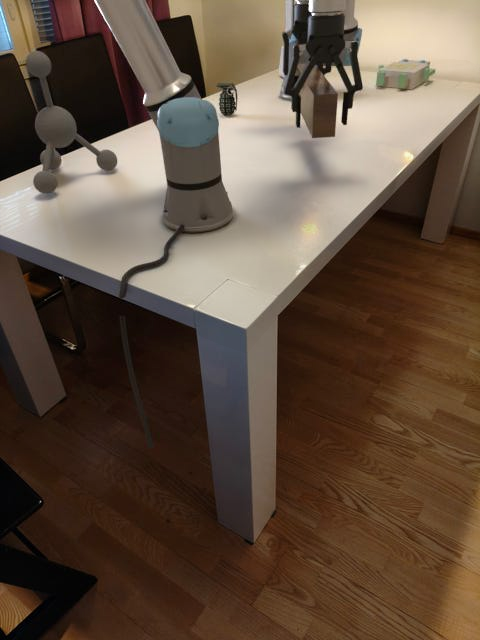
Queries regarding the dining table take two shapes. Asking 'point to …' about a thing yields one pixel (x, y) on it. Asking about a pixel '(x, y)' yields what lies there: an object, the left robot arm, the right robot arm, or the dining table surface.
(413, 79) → the grey box with connectors
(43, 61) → the molecular model
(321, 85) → the bar
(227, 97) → the grenade
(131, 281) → the dining table surface
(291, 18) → the electronic device
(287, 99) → the right robot arm
